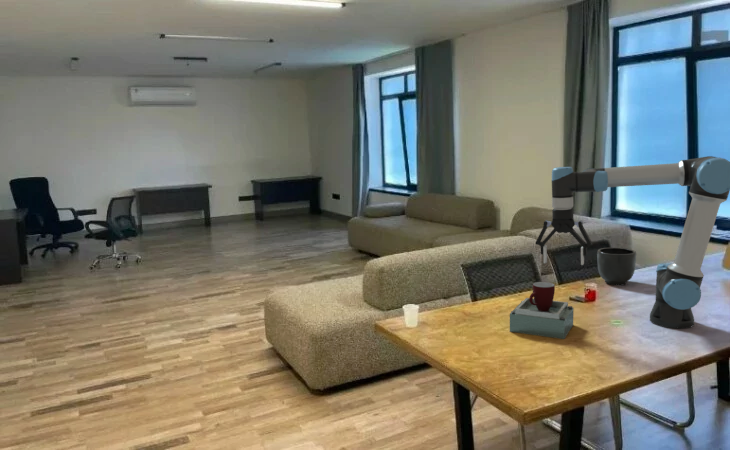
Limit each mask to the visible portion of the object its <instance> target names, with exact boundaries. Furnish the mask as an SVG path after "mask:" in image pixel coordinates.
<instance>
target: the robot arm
mask: <svg viewBox="0 0 730 450" xmlns="http://www.w3.org/2000/svg"><path fill="white" fill-rule="evenodd" d="M675 184H677V185H679V186H681V187H690V188H689V191H688V194H689V195H690V196H691V202H690V205H689V210H688V211H687V217H686V219H685V222H684V226H683V230H682V233H681V236H680V240H679V243H678V246H677V250H676V253H675V258H674V260H673V262H672V263H670V262H669V263H667V262H665V263H664V262H663V263H658V264H657V266H656V271H655V272H656V282H655V283H656V284H655V285H656V286H655V302H654V303H653V306H652V309H651V311H650V313H649V321H650V323H652V324H654V325H657V326H660V327H662V328H670V329H687V328H686V327H689V328H692V327H694V326H693V325H695V317H694V315H693V311H692V308H694V307H695V306H697V305H698V304H699V302H700V301H701V298H702V290H701V286H702V282H703V279H704V276H705V275H704V273H703V272H702V270H701V268H702V266H703V262H704V258H705V255H706V251H707V248H708V246H709V243H710V239H711V235H712V232H713V228H714V226H715V222H716V220H717V216H718V213H719V210H720V209H719V208H720V206H721V204H723V203H724V202H726V201H728V197H729V194H730V161H729V159H726V158H724V157H718V156H713V155H709V156H701V157H697V158H690V159H681V160H680V161H678V162H675V163H661V164H660V163H659V164H645V165H644V164H643V165H632V166H631V165H630V166H629V165H628V166H619V167H618V166H615V167H600V168H598V167H597V168H593V167H589V168H586V169H584V170H583V171H574V169H573V167H572V166H559V167H558V166H557V167H554V168H553V169H552V171H551V196H552V197H551V208H552V213H551V214H552V217H551V218H552V220H551V221H550V220H547V219H546V220H545V221H543V227H542V229H541V231H540V233H539V234H538V237H537V239H536V241H535V245H537V246H539V248H540V254H541V255H543V264H547V263H548V245H546V243H547V242H548V241H549V240H550V239H551V238H552V237H553V236H554V235H555V233H559V234H562V233H563V234H567V233H569V234H570V235H572V236H573V238H575V240H576V241H577V242H578V243H579V244H580V245H581V247H580V265H581V266H583V265H584V264H585V257H586V256H587V255H588V247H591V246H593V241H592V240H591V237H590V236H589V235H588V233H587V231H586V229H585V227H584V221H583V220H578V221H575V220H574V208H573V207H574V193H590V192H593V193H595V192H597V193H599V192H606V191H607V190H608V189H609V188H616V187H617V188H618V187H619V188H621V187H633V186H634V187H635V186H636V187H639V186H656V185H657V186H658V185H675ZM550 226H551V227H552V228H553V229H552V230H551V232H550V233H549V234H547V236H546V237H545V238H544V239H543V237H544V236H545V233H546V231H547V229H548V228H549V227H550ZM574 226H576V227H577V228H578V229H579V231H580V233H581V235H582V237H583V238H584V239H582V237H581V235H579V234H578V232H577V231H576V230H575V228H574ZM542 239H543V240H542ZM691 326H692V327H691Z"/></svg>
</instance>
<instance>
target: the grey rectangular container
mask: <svg viewBox="0 0 730 450" xmlns="http://www.w3.org/2000/svg"><path fill="white" fill-rule="evenodd" d="M533 303H535V302H534V298H533ZM574 310H575V309H574V307H573V306H572V305H569V302H568V301H561V300H560V301H558V300H553V303H552V305H551V307H550V309H549V310H548V311H539V310H538V309H537V307H536V305H532V304H531V303H530V301H529V297H526V298H524V299H523V300H521V302H520V303H518V305H516V307H514V309H513V310H511V311H510V313H509V332H511V333H518V334H519V333H520V334H523V335H524V334H525V335H531V336H538V337H539V336H541V337H547V338H553V339H560V340H565V339H566V337H567V336H568V334H569V332H570V330H571V329H572V328H573V326H574Z"/></svg>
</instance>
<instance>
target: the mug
mask: <svg viewBox="0 0 730 450" xmlns="http://www.w3.org/2000/svg"><path fill="white" fill-rule="evenodd" d="M555 291H556V286H555V284H554V283H553V282H548V281H536V282H533V283H532V292H531V293H530V294H529V297H528V298H529V301H530V303H531V304H532V305H536V307H537V309H538V310H539V311H548V310H549V309H550V307H551V305H552V303H553V301H554V297H555ZM533 299H534V302H535V303H533Z"/></svg>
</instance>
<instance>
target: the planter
mask: <svg viewBox="0 0 730 450" xmlns="http://www.w3.org/2000/svg"><path fill="white" fill-rule="evenodd" d="M596 255H597V256H596V257H597V260H596V261H597V270H598V273H599V276H600V277H601V279H603V280H604V282H605V283H606V284H607V285H611V286H623V285H626V284H627V282H629V281H630V280H631V279H632V277H633V276H634V274H635V270H636V265H637V264H636V263H637V251H636V250H634V249H631V248H624V247H603V248H602V247H601V248H599V249H598V250H597V253H596Z"/></svg>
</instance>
